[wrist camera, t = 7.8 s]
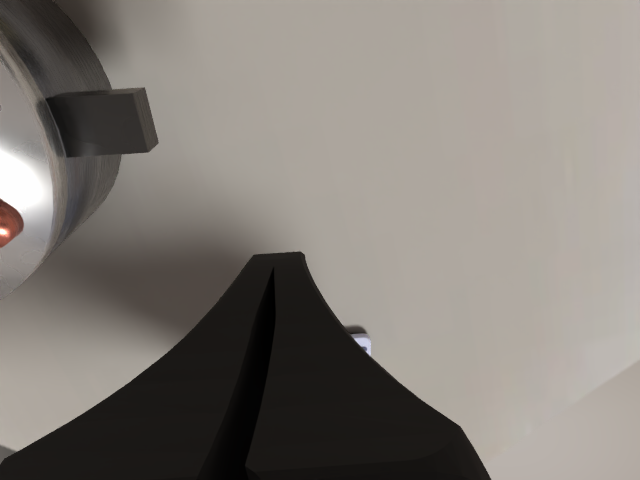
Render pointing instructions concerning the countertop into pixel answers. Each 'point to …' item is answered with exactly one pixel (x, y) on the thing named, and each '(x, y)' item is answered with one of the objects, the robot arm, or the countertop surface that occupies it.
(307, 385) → the robot arm
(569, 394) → the countertop surface
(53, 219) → the cooker lid
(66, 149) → the cooker pot
